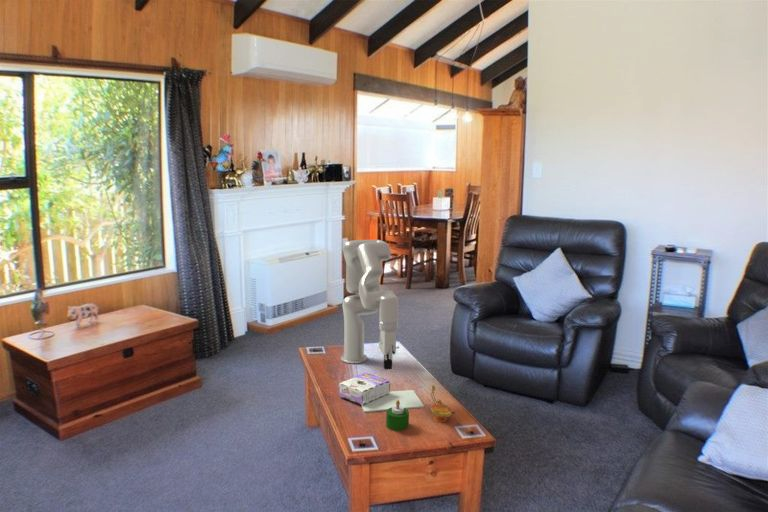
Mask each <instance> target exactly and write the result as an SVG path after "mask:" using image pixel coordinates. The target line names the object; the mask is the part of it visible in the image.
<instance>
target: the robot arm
mask: <svg viewBox="0 0 768 512" xmlns="http://www.w3.org/2000/svg"><path fill="white" fill-rule="evenodd" d="M342 247H343V248H342V254H343V257H344V258H343V259H344V261H345V264H346V265H345V266H346V267H345V270H346V271H345V272H346V273H345V289H346V291H347V292H348V293H350V294H354V295H349V296H348V295H347V296H346V297H344V298H343V300H342V311H343V313H342V314H343V321H344V323H343V324H344V325H343V326H344V331H343V332H344V333H343V338H344V339H343V340H344V341H343V342H344V344H343V345H344V347H343V348H344V349H343V354H342V355H341V357H340V360H341V361H342V362H344V363H346V364H354V363H355V364H360V363H364V362H365V363H366V361H367V359H368V356H367V354H365V323H364V321H363V320H362V319H361V317H360V316H363V315H374V314H377V313H378V311H379V314H378V317H379V321H378V324H379V325H378V329H379V341H378V342H379V345H378V348H379V350H380V352H381V354H382V355H383V369H384V370H392V369H393V356H394V355H395V354H396V350H397V339H396V338H397V336H396V335H397V333H396V331H398V329H399V297H398V296H397V295H396V294H395V293H394V291H393V290H390V289H384V290H380V288H381V287H380V285H381V284H380V278H381V276H382V275H383V273H384V268H383V265H382V262H384V261H388V260H389V259H390V258H391V256H392V255H391V253H392V251H391V247H390V246H389V244H388V243H387V242H386V241H383V240H381V239H355V240H354V239H353V240H348V241H345V242H344V243H343V245H342ZM355 294H356V295H355Z"/></svg>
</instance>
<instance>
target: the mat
mask: <svg viewBox="0 0 768 512" xmlns="http://www.w3.org/2000/svg"><path fill="white" fill-rule="evenodd" d="M397 400H399V402H400V405H399V406H401V407H403V408H406V409H407V410H410V409H411V410H412V409H420V408H424V407H425V406H424V404H423V402H422V401H421V399H420V398H419V396H418V395H417V393H416V392H415V390H414V389H407V390H395V391H394V390H393V391H392V390H391V391H390V394H388V395H385V396H383V397H380V398H378V399H376V400H373V401H371V402H369V403H366V404H364V405H361V404H360V406H361V408H362V411H363V413H372V412H373V413H374V412H375V413H376V412H384V411H385V412H386V411H387V410H388V409H389V408H392V407H394V406H396V401H397Z"/></svg>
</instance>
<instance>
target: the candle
mask: <svg viewBox="0 0 768 512" xmlns="http://www.w3.org/2000/svg"><path fill="white" fill-rule="evenodd" d="M399 405H400V402H399V400H397V401H396V406H394V407H392V408H389V409H388V410H387V411H385V412H386V418H385V423H386V428H387V429H388V430H391V431H395V432H400V431H401V432H402V431H404V430H407V429H408V428H409V426H410V425H409V424H410V423H409V422H410V421H409V420H410V411H409V409H406V408H403V407H401V406H399Z"/></svg>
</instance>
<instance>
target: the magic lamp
mask: <svg viewBox="0 0 768 512" xmlns="http://www.w3.org/2000/svg"><path fill="white" fill-rule="evenodd" d="M435 390H436V386H435V385H434V384H433V385H432V386H431V394H430V395H431V399H432V401H433V405H432V406H431V413H433V414H434V415H435V416H433V420H434V421H435V422H437V423H438V422H440V423H441V422H442V423H443V422H446V421H447V420H448V418H447V417H449V416H452V415H457V412H456V411H451V408H450V407H449V406H448V405H445V404H443V403H442V400H441V399H438V400H436V397H435V393H434V392H435Z"/></svg>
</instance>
